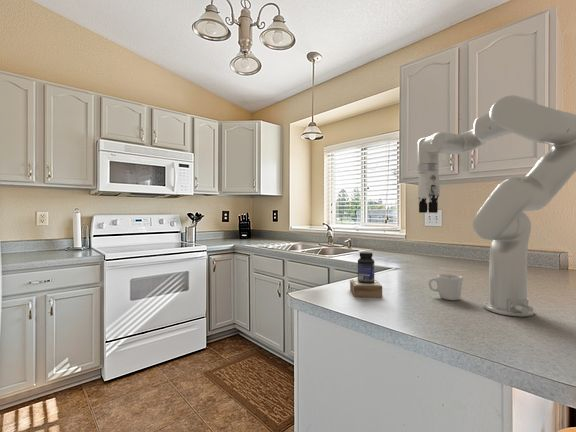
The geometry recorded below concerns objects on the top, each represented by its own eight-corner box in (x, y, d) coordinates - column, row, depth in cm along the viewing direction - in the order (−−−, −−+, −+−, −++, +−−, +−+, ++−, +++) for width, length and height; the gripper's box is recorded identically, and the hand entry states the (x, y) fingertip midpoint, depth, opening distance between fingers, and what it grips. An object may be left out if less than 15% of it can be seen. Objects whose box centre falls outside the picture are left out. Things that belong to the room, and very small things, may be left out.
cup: (427, 299, 107) (427, 276, 107) (429, 293, 114) (429, 272, 114) (463, 303, 102) (463, 279, 102) (462, 297, 109) (462, 275, 109)
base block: (382, 297, 110) (382, 285, 110) (354, 296, 110) (354, 285, 110) (375, 290, 120) (375, 279, 120) (350, 289, 120) (350, 279, 120)
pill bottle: (376, 283, 112) (376, 253, 112) (359, 283, 112) (359, 253, 112) (371, 280, 118) (372, 251, 118) (356, 280, 118) (356, 251, 118)
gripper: (447, 166, 112) (447, 212, 112) (428, 172, 129) (428, 212, 129) (426, 166, 112) (426, 212, 113) (410, 172, 130) (410, 212, 130)
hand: (427, 212), depth 121 cm, fingers open, 9 cm apart
